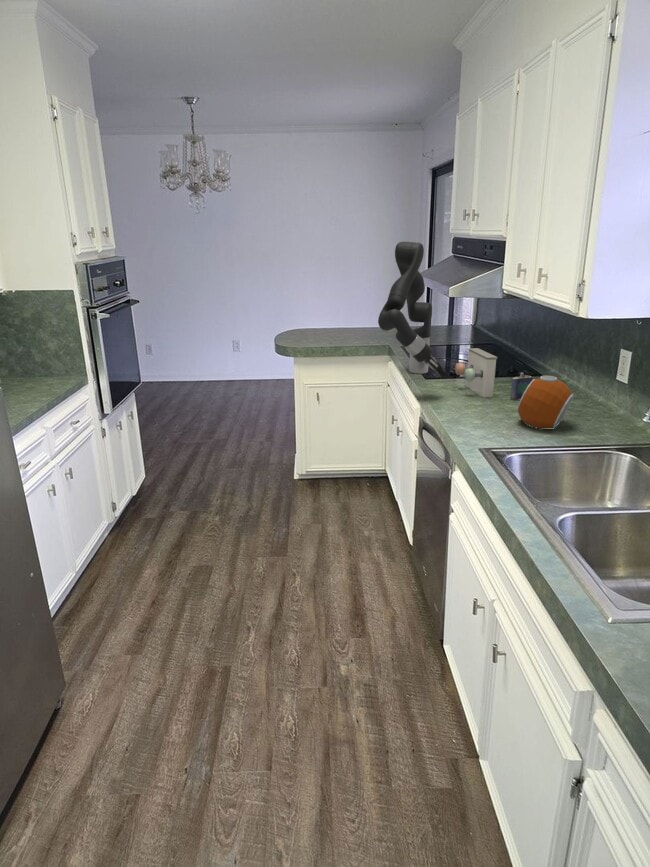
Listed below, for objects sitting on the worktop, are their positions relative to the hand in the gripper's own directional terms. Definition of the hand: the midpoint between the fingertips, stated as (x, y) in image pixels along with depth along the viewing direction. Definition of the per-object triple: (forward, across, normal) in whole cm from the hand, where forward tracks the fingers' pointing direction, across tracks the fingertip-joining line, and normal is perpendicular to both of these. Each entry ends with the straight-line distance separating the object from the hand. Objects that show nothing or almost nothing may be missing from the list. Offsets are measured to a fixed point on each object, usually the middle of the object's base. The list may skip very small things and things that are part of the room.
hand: (444, 376), depth 239 cm
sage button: (+11, 0, -8) cm, 14 cm away
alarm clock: (+22, -40, -9) cm, 47 cm away
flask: (+28, -8, -15) cm, 32 cm away
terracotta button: (+11, +10, -8) cm, 17 cm away
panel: (+19, +5, -6) cm, 21 cm away
